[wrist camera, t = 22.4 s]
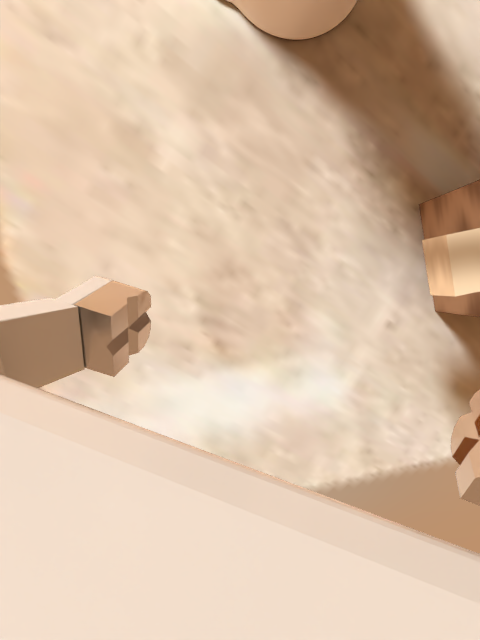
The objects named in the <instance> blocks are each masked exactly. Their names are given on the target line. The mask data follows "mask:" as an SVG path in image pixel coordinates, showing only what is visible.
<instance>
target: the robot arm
mask: <svg viewBox="0 0 480 640" xmlns="http://www.w3.org/2000/svg"><path fill="white" fill-rule="evenodd" d="M227 1H229V2H231V3H233V4H234V5H235V6H236V7H237V8H238V9H239V10H240V11H241V12H242V13H243V14H244V15H245V16H246V17H247V19H249V20H250V21H251V22H252V23H253V24H254V25H256V26H257V27H258V28H260V29H261V30H263V31H265V32H267V33H269V34H271V35H274V36H277V37H280V38H285V39H308V38H312V37H316V36H319V35H321V34H324V33H326V32H328V31H329V30H331V29H333V28H334V27H335V26H337V25H338V24H339V23H340V22H342V21H343V20H344V19H345V18H346V16H347V15H348V14H349V13H350V11H351V10H352V9H353V7H354V6H355V4H356V2H357V0H227ZM150 307H151V295H150V294H149V293H148V291H145V290H142V289H139V288H136V287H132V286H129V285H126V284H123V283H120V282H117V281H113V280H110V279H107V278H103V277H98V276H94V277H92V278H91V279H89V280H87V281H86V282H84V283H82V284H80V285H79V286H77V287H75V288H73V289H72V290H70V291H68V292H67V293H65V294H63V295H61V296H60V297H58V298H56V299H52V298H45V299H38V300H32V301H26V302H19V303H13V304H8V305H0V640H480V554H478V553H475V552H473V551H470V550H468V549H465V548H462V547H460V546H457V545H454V544H452V543H449V542H446V541H444V540H441V539H438V538H436V537H433V536H430V535H428V534H425V533H423V532H420V531H417V530H415V529H412V528H409V527H407V526H404V525H401V524H399V523H396V522H393V521H391V520H388V519H385V518H382V517H380V516H377V515H375V514H372V513H369V512H367V511H364V510H361V509H359V508H356V507H353V506H351V505H348V504H345V503H343V502H340V501H337V500H335V499H332V498H329V497H327V496H324V495H321V494H319V493H316V492H314V491H311V490H308V489H306V488H303V487H300V486H298V485H295V484H292V483H289V482H287V481H284V480H281V479H279V478H276V477H273V476H271V475H268V474H265V473H263V472H260V471H257V470H255V469H252V468H249V467H247V466H244V465H241V464H239V463H236V462H233V461H231V460H228V459H225V458H222V457H220V456H217V455H214V454H212V453H209V452H206V451H204V450H201V449H198V448H196V447H193V446H190V445H188V444H185V443H182V442H180V441H177V440H174V439H172V438H169V437H166V436H164V435H161V434H158V433H155V432H153V431H150V430H147V429H145V428H142V427H139V426H137V425H134V424H132V423H129V422H126V421H124V420H121V419H118V418H116V417H113V416H110V415H108V414H105V413H102V412H100V411H97V410H94V409H92V408H89V407H86V406H84V405H81V404H78V403H76V402H73V401H70V400H68V399H65V398H62V397H60V396H57V395H54V394H52V393H49V392H46V391H44V390H41V389H38V388H39V387H42V386H44V385H47V384H49V383H52V382H54V381H56V380H59V379H61V378H64V377H66V376H69V375H71V374H74V373H76V372H79V371H81V370H84V369H85V368H88V369H91V370H94V371H97V372H100V373H103V374H107V375H110V376H113V377H114V376H115V375H116V374H117V373H118V372H119V371H120V370H121V369H122V368H124V367H125V366H126V365H127V364H128V363H129V355H132V354H135V353H138V352H139V351H140V350H141V349H142V348H143V347H144V346H145V344H146V342H147V340H148V338H149V334H150V330H151V320H150V319H149V317H148V315H147V313H146V312H147V310H148V309H149V308H150ZM469 404H470V408H471V412H470V413H467V414H465V415H463V416H460V418H459V419H458V421H457V423H456V425H455V427H454V429H453V433H452V437H451V452H452V457H453V458H454V459H455V460H456V461H457V462H458V464H459V465H460V466H459V468H458V469H457V471H456V472H455V473H456V478H457V483H458V488H459V493H460V498H461V499H464V500H466V501H469V502H472V503H474V504H477V505H480V389H479V390H478V391H477V392H476V393H475V394H474V395H473V397H472V398H471V400H470V401H469Z"/></svg>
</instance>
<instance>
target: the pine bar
mask: <svg viewBox="0 0 480 640" xmlns="http://www.w3.org/2000/svg"><path fill="white" fill-rule="evenodd" d="M422 243H423V250H424V256H425V263H426V269H427V276H428V282H429V289H430V295H437V296H454V297H456V296H460V295H465V294H470V293H475V292H480V228H477V229H472V230H467V231H463V232H458V233H453V234H448V235H443V236H439V237H434V238H430V239H425V240H422Z"/></svg>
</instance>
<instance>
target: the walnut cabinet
mask: <svg viewBox="0 0 480 640" xmlns="http://www.w3.org/2000/svg"><path fill="white" fill-rule="evenodd" d="M419 206H420V213H421V220H422V226H423V233H424V240H425V239H430V238H434V237H439V236H443V235H448V234H453V233H458V232H463V231H467V230H472V229H477V228H480V180H478V181H476V182H473V183H471V184H468V185H466V186H463V187H461V188H459V189H456V190H454V191H451V192H449V193H446V194H444V195H441V196H439V197H436V198H434V199H432V200H429V201H427V202H424V203H422V204H419ZM433 299H434V306H435V311H438V312H446V313H453V314H461V315H468V316H475V317H480V292H475V293H470V294H465V295H460V296H456V297H454V296H437V295H433Z"/></svg>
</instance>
